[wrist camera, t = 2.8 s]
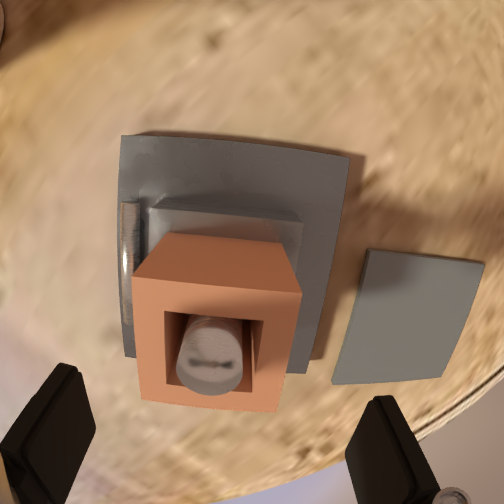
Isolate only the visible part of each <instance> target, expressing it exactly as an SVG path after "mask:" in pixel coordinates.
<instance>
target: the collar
mask: <svg viewBox="0 0 504 504" xmlns="http://www.w3.org/2000/svg"><path fill="white" fill-rule="evenodd" d="M131 280H132V304H133V320H134V334H135V346H136V356H137V366H138V375H139V383H140V391H141V398H142V399H143V400H149V401H155V402H162V403H169V404H176V405H184V406H192V407H201V408H211V409H222V410H235V411H253V412H276V411H277V407H278V403H279V399H280V395H281V390H282V386H283V382H284V378H285V373H286V369H287V365H288V360H289V356H290V351H291V347H292V342H293V337H294V333H295V328H296V323H297V318H298V313H299V308H300V303H301V298H302V291H301V288H300V286H299V284H298V281H297V279H296V276H295V274H294V272H293V269H292V267H291V264H290V262H289V260H288V257H287V255H286V253H285V250H284V248H283V245H282V243H274V242H264V241H254V240H244V239H234V238H224V237H213V236H203V235H192V234H182V233H171V232H167V233H166V234H165V235H164V236H163V238H162V239H161V240H160V241H159V243H158V244H157V245H156V246H155V247H154V249H153V250H152V251H151V252H150V254H149V255H148V256H147V257H146V259H145V260H144V261H143V262H142V264H141V265H140V266H139V267H138V269H137V270H136V271H135V272H134V274H133V275H132V276H131ZM186 313H188V314H197V315H206V316H216V317H227V318H238V319H249V321H242V364H243V375H242V379H241V381H240V383H239V385H238V386H237V387H236V388H235V389H233V390H232V391H230V392H228V393H225V394H222V395H216V396H208V395H202V394H199V393H196V392H194V391H192V390H190V389H188V388H187V387H186V386H184V385H183V384H182V382H181V381H180V380H179V378H178V376H177V373H176V364H177V360H178V356H179V352H180V349H181V345H182V341H183V337H184V334H185V330H186V326H187V323H188V319H189V315H186Z"/></svg>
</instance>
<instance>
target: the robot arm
mask: <svg viewBox="0 0 504 504" xmlns="http://www.w3.org/2000/svg"><path fill="white" fill-rule="evenodd" d="M3 27H4V12H3V8H2V5H1V3H0V42H1V38H2V33H3ZM95 431H96V425H95V421H94V418H93V415H92V411H91V408H90V404H89V400H88V397H87V393H86V389H85V385H84V381H83V377H82V374H81V372H78V369H77V367H75V366H72V365H68V364H65V363H59V364H58V365H57V366H56V367H55V369H54V370H53V371H52V373H51V374H50V375H49V377H48V378H47V379H46V381H45V382H44V383H43V385H42V386H41V387H40V389H39V390H38V391H37V393H36V394H35V395H34V396H33V397H32V398H31V399H30V401H29V402H28V404H27V405H26V406H25V408H24V409H23V411H22V412H21V413H20V415H19V416H18V418H17V419H16V421H15V422H14V424H13V425H12V427H11V428H10V430H9V431H8V432H7V434H6V435H5V437H4V439H3V440H2V442H1V443H0V504H65V502H66V499H67V497H68V494H69V492H70V490H71V487H72V485H73V482H74V480H75V478H76V475H77V473H78V471H79V468H80V466H81V464H82V461H83V459H84V457H85V454H86V452H87V450H88V448H89V445H90V443H91V441H92V439H93V437H94V434H95ZM345 459H346V462H347V466H348V470H349V473H350V477H351V480H352V484H353V488H354V491H355V495H356V498H357V502H358V504H472V503H471V499H470V497H469V496H468V494H467V493H466V492H465V491H463V490H461V489H459V488H455V487H448V488H445V489H442V490H441V489H440V487H439V485H438V483H437V481H436V478H435V476H434V474H433V472H432V470H431V468H430V466H429V464H428V462H427V460H426V458H425V456H424V454H423V452H422V450H421V448H420V446H419V444H418V442H417V440H416V438H415V436H414V434H413V432H412V431H411V429H410V427H409V425H408V424H407V422H406V420H405V418H404V416H403V414H402V412H401V410H400V408H399V406H398V404H397V402H396V401H395V399H394V397H393V396H392V395H385V396H375V397H374V398H373V400H371V401H369V402H368V404H367V406H366V408H365V411H364V413H363V415H362V417H361V419H360V421H359V423H358V425H357V428H356V430H355V432H354V434H353V436H352V438H351V440H350V442H349V444H348V446H347V448H346V450H345Z"/></svg>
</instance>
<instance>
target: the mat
mask: <svg viewBox="0 0 504 504" xmlns="http://www.w3.org/2000/svg"><path fill="white" fill-rule="evenodd" d="M484 266H485V265H484V264H483V263H481V262H473V261H466V260H458V259H450V258H442V257H434V256H426V255H418V254H409V253H401V252H393V251H384V250H375V249H367V253H366V258H365V262H364V267H363V271H362V275H361V279H360V283H359V287H358V291H357V295H356V299H355V303H354V307H353V310H352V314H351V318H350V321H349V325H348V328H347V332H346V335H345V339H344V342H343V345H342V348H341V352H340V355H339V358H338V361H337V364H336V368H335V371H334V374H333V377H332V380H331V381H332V384H333V385H345V384H370V383H386V382H399V381H411V380H421V379H430V378H438V377H441V376H442V374H443V372H444V370H445V368H446V366H447V364H448V361H449V359H450V357H451V355H452V353H453V351H454V348H455V346H456V344H457V341H458V339H459V337H460V334H461V332H462V329H463V327H464V324H465V322H466V319H467V317H468V314H469V311H470V309H471V306H472V303H473V300H474V298H475V295H476V292H477V289H478V286H479V283H480V280H481V276H482V273H483V270H484Z"/></svg>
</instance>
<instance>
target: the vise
mask: <svg viewBox="0 0 504 504" xmlns="http://www.w3.org/2000/svg"><path fill="white" fill-rule="evenodd" d="M349 162H350V158H347V157H342V156H337V155H331V154H325V153H319V152H313V151H307V150H300V149H293V148H286V147H279V146H271V145H263V144H255V143H246V142H236V141H226V140H214V139H201V138H186V137H167V136H136V135H121V147H120V161H119V178H118V208H117V249H118V279H119V297H120V311H121V323H122V333H123V343H124V351H125V357H131V358H137V356H136V346H135V334H134V320H133V304H132V280H131V276H132V275H133V274H134V272H135V271H136V270H137V269H138V267H139V266H140V265H141V264H142V262H143V261H144V260H145V259H146V257H147V256H148V255H149V254H150V252H151V251H152V250H153V249H154V247H155V246H156V245H157V244H158V243H159V241H160V240H161V239H162V238H163V236H164V235H165V234H166V233H167V232H171V233H182V234H192V235H203V236H213V237H224V238H234V239H244V240H254V241H264V242H274V243H282V245H283V248H284V250H285V253H286V255H287V257H288V260H289V262H290V264H291V267H292V269H293V272H294V274H295V276H296V279H297V281H298V284H299V286H300V288H301V291H302V298H301V303H300V308H299V313H298V318H297V323H296V328H295V333H294V337H293V342H292V347H291V351H290V356H289V360H288V365H287V369H286V373H301V374H306V371H307V367H308V364H309V360H310V356H311V352H312V348H313V344H314V341H315V337H316V332H317V328H318V324H319V320H320V316H321V312H322V307H323V303H324V299H325V294H326V290H327V285H328V280H329V276H330V271H331V266H332V261H333V256H334V251H335V246H336V241H337V235H338V230H339V224H340V219H341V213H342V207H343V201H344V195H345V189H346V182H347V176H348V169H349ZM186 315H189V319H188V323H187V326H186V330H185V334H184V337H183V341H182V345H181V349H180V352H179V356H178V360H177V364H176V373H177V376H178V378H179V380H180V381H181V382H182V384H183V385H184V386H186V387H187V388H188V389H190V390H192V391H194V392H196V393H199V394H202V395H208V396H216V395H222V394H225V393H228V392H230V391H232V390H233V389H235V388H236V387H237V386H238V385H239V383H240V381H241V379H242V375H243V364H242V321H249V319H238V318H227V317H216V316H206V315H197V314H188V313H186Z"/></svg>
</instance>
